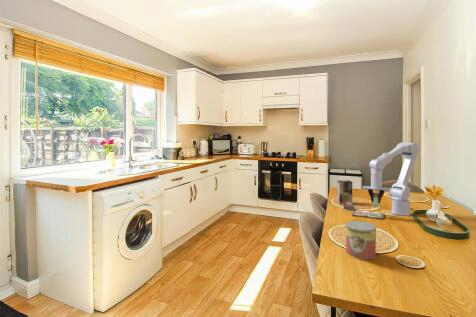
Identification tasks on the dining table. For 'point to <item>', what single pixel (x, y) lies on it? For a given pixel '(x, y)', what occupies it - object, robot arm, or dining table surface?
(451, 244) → the dining table surface
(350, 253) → the canned food
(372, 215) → the colouring board
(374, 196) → the sage marker
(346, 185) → the coffee box
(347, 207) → the button housing
